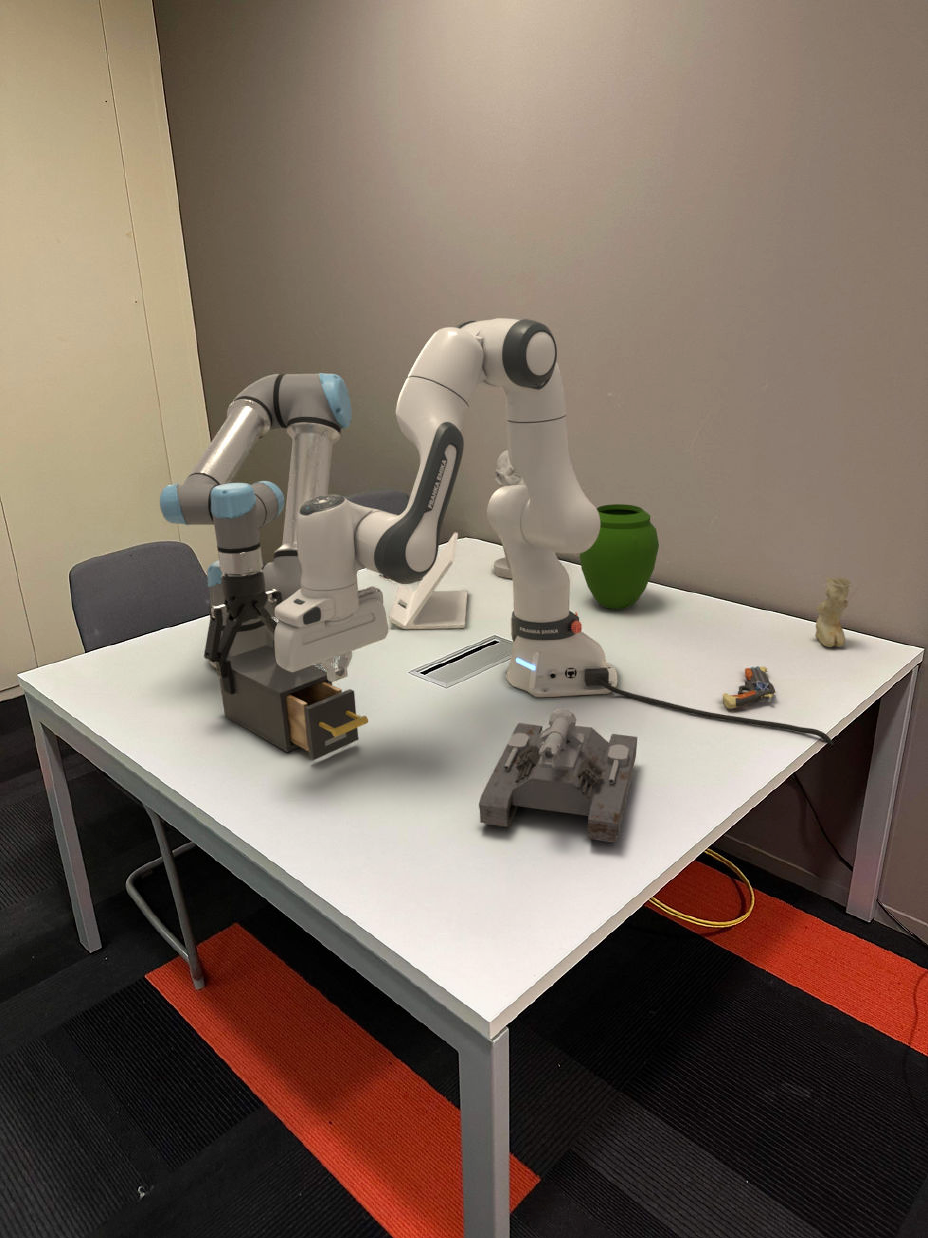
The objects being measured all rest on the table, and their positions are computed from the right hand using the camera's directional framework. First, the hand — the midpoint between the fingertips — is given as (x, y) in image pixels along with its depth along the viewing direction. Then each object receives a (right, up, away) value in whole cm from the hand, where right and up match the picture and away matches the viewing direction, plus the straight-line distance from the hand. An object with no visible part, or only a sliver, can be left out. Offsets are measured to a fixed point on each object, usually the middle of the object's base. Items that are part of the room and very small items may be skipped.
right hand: (337, 678), depth 140 cm
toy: (+36, -18, -7) cm, 41 cm away
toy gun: (+76, -4, +26) cm, 80 cm away
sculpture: (+101, +4, +47) cm, 111 cm away
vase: (+59, +13, +74) cm, 96 cm away
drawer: (-6, -11, +12) cm, 17 cm away
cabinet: (-14, -10, +19) cm, 25 cm away
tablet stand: (+12, +12, +74) cm, 76 cm away
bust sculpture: (+38, +22, +99) cm, 108 cm away
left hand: (-19, -2, +21) cm, 28 cm away
